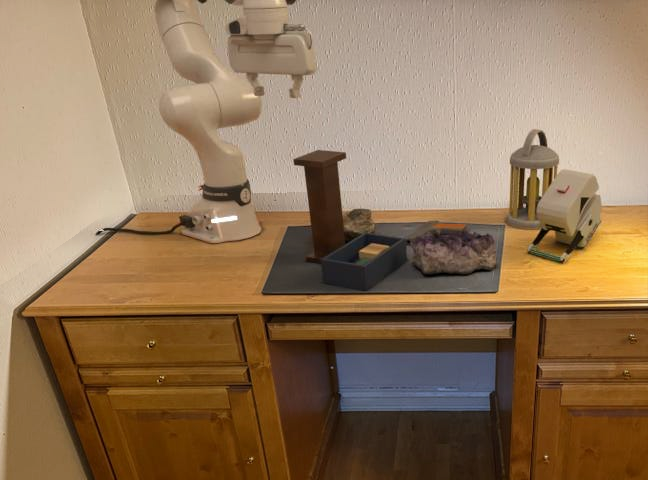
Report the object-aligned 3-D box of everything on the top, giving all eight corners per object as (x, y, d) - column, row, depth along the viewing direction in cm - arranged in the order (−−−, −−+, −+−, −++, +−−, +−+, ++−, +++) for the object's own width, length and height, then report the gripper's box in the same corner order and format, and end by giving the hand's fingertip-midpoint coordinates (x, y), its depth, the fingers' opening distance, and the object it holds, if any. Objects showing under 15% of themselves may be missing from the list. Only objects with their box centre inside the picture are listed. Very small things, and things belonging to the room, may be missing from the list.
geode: (490, 256, 164) (494, 219, 157) (499, 279, 154) (503, 241, 148) (409, 258, 161) (409, 220, 155) (413, 282, 152) (414, 243, 146)
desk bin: (323, 282, 151) (320, 259, 148) (366, 254, 167) (365, 232, 164) (366, 290, 147) (364, 266, 144) (407, 260, 162) (406, 238, 159)
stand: (306, 261, 163) (293, 159, 151) (328, 247, 171) (317, 149, 159) (333, 265, 160) (322, 162, 148) (354, 252, 168) (345, 152, 156)
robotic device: (538, 274, 171) (514, 225, 156) (578, 212, 176) (559, 158, 161) (572, 285, 165) (551, 234, 150) (613, 220, 170) (597, 165, 154)
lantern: (521, 210, 194) (525, 122, 182) (565, 218, 187) (572, 127, 175) (496, 223, 185) (499, 131, 172) (541, 232, 177) (547, 137, 165)
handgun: (447, 249, 168) (405, 244, 172) (468, 230, 180) (428, 225, 185) (447, 243, 167) (404, 238, 171) (468, 223, 180) (427, 219, 184)
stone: (371, 236, 168) (345, 205, 167) (345, 260, 173) (320, 230, 171) (389, 224, 180) (365, 195, 178) (365, 247, 184) (341, 219, 183)
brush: (357, 282, 149) (356, 267, 148) (339, 278, 151) (337, 264, 150) (390, 259, 161) (389, 245, 159) (372, 256, 163) (371, 243, 161)
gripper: (318, 23, 132) (326, 96, 139) (238, 23, 140) (249, 92, 147) (300, 25, 127) (308, 101, 134) (218, 25, 135) (230, 96, 142)
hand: (277, 96), depth 140 cm, fingers open, 8 cm apart
